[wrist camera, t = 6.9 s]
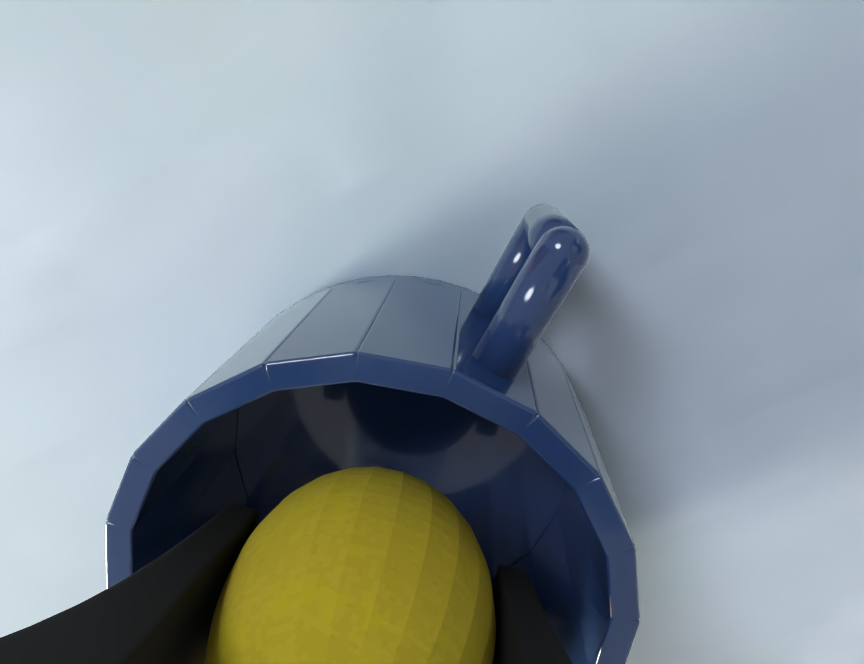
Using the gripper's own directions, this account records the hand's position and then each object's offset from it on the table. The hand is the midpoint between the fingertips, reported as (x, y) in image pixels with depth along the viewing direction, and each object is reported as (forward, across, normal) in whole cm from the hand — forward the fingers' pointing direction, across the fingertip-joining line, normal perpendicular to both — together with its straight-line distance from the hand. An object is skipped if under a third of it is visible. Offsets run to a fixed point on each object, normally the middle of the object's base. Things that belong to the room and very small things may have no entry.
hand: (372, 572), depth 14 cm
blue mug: (+5, 0, -1) cm, 6 cm away
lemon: (+3, 0, 0) cm, 3 cm away
